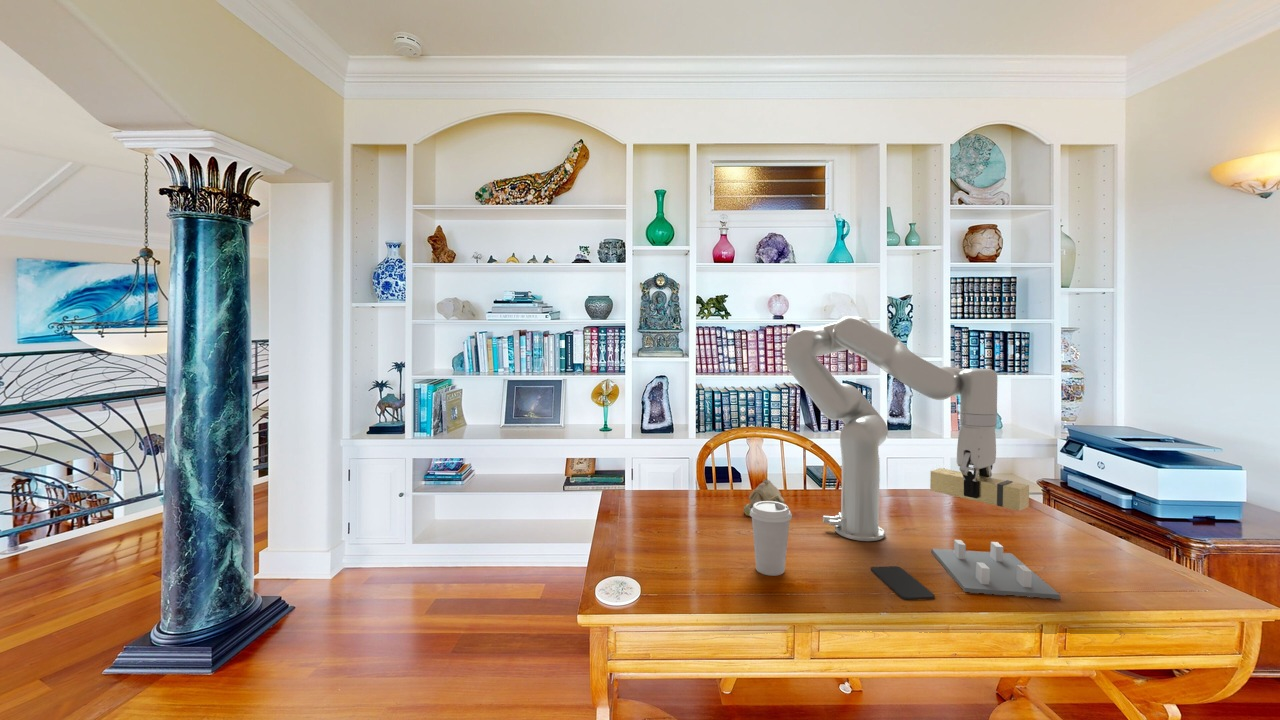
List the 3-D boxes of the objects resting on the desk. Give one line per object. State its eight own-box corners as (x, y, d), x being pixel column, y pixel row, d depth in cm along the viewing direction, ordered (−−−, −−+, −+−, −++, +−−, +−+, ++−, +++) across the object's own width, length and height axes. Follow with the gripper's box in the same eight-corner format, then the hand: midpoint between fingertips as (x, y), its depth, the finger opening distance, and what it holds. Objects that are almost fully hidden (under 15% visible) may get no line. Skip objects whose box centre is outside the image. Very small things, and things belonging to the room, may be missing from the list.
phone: (899, 565, 130) (937, 596, 115) (899, 569, 130) (937, 600, 115) (868, 566, 130) (902, 597, 115) (868, 570, 130) (902, 601, 115)
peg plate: (964, 592, 118) (965, 571, 117) (931, 552, 138) (932, 534, 138) (1059, 599, 114) (1060, 578, 114) (1011, 557, 135) (1012, 539, 135)
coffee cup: (784, 582, 123) (784, 516, 122) (743, 572, 128) (743, 508, 127) (796, 566, 131) (797, 504, 130) (757, 557, 136) (758, 497, 135)
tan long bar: (930, 490, 141) (930, 470, 141) (940, 487, 144) (940, 467, 144) (1019, 511, 125) (1019, 488, 124) (1028, 506, 128) (1029, 484, 127)
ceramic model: (759, 502, 178) (759, 471, 178) (792, 509, 171) (792, 477, 171) (737, 514, 168) (737, 481, 167) (771, 522, 160) (771, 488, 160)
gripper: (979, 414, 141) (978, 485, 142) (943, 422, 132) (942, 497, 133) (1011, 418, 135) (1010, 492, 136) (977, 426, 125) (976, 505, 126)
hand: (977, 494), depth 134 cm, fingers closed on tan long bar, 5 cm apart
